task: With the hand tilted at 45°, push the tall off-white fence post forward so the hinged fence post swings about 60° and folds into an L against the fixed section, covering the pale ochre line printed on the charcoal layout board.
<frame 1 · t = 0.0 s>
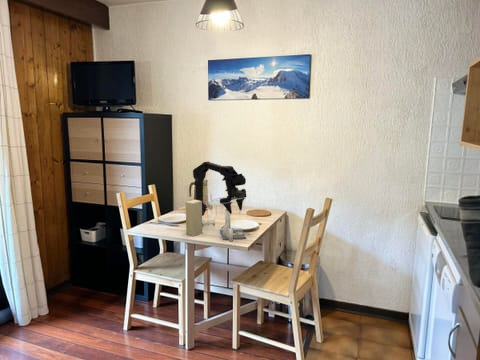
hand: (236, 212, 212), 15 cm above the table, tool pointing down, fingers open, 9 cm apart
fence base: (226, 237, 213), on the table
fence post: (227, 220, 218), point 9 cm above the table, hinge at 0.0°
layout board: (232, 234, 217), on the table
toy refrigerator: (194, 233, 220), on the table
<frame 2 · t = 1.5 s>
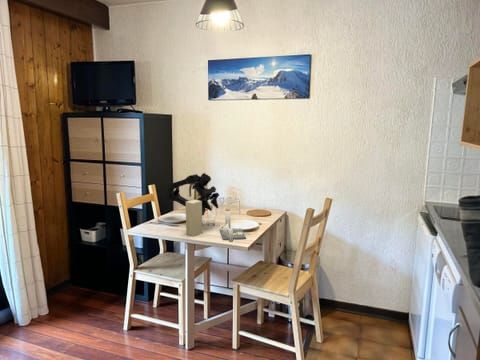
hand: (214, 209, 225), 14 cm above the table, tool tilted 45°, fingers open, 6 cm apart
nothing on the table moved.
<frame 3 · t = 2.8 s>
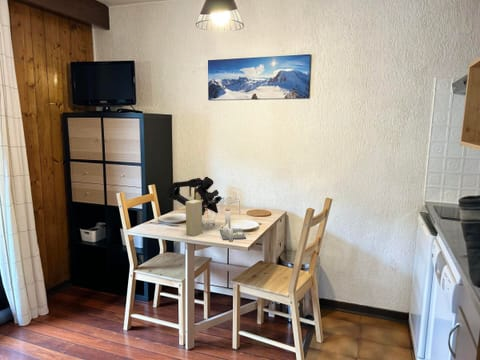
hand: (217, 212, 225), 11 cm above the table, tool tilted 45°, fingers closed
nothing on the table moved.
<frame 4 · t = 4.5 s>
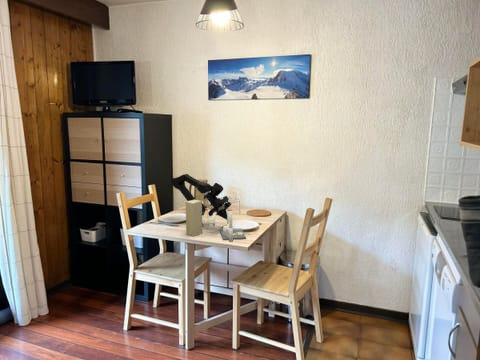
hand: (227, 219, 222), 8 cm above the table, tool tilted 45°, fingers closed, pressing on fence post
fence post: (228, 220, 218), point 9 cm above the table, hinge at 7.4°, touching gripper
everything else where it was.
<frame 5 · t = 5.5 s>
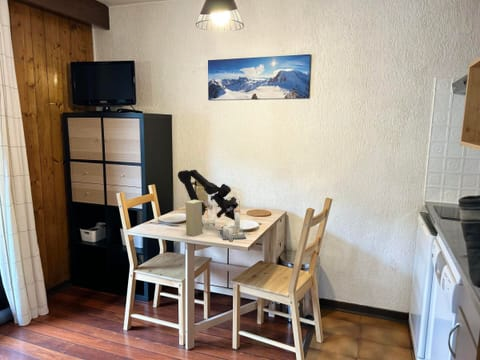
hand: (236, 220, 219), 8 cm above the table, tool tilted 45°, fingers closed, pressing on fence post
fence post: (234, 221, 216), point 9 cm above the table, hinge at 42.5°, touching gripper
everything else where it was.
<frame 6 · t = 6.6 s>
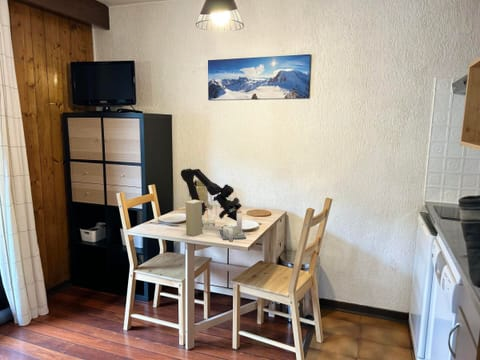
hand: (238, 221, 217), 8 cm above the table, tool tilted 45°, fingers closed, pressing on fence post
fence post: (235, 222, 214), point 9 cm above the table, hinge at 57.4°, touching gripper
everything else where it was.
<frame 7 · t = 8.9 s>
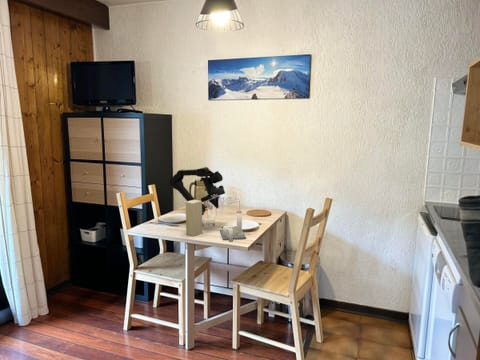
hand: (217, 208, 227), 14 cm above the table, tool tilted 25°, fingers closed
fence post: (235, 222, 214), point 9 cm above the table, hinge at 57.5°
everything else where it was.
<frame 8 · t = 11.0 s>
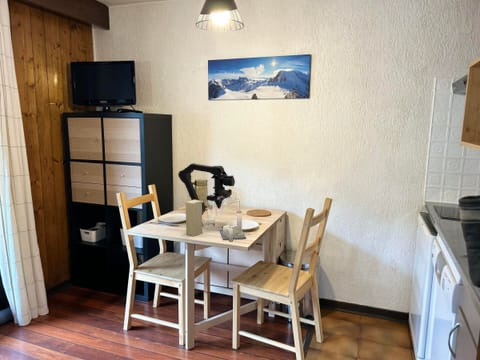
hand: (219, 208, 229), 13 cm above the table, tool pointing down, fingers closed
nothing on the table moved.
at the end: fence post at +58° (first picture: +0°); toy refrigerator moved 0.2 cm from its start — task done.
